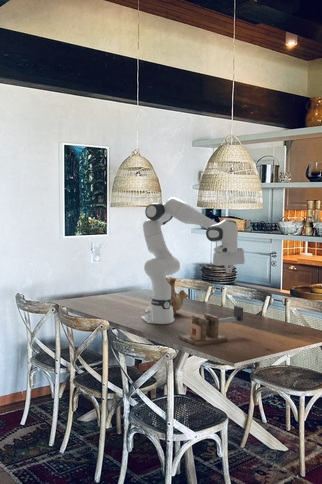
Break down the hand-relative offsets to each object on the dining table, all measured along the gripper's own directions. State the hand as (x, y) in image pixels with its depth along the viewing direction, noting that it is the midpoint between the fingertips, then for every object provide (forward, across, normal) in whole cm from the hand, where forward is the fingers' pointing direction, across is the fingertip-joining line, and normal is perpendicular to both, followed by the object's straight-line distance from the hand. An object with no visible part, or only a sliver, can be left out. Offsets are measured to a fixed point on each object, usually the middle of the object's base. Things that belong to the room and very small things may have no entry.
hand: (228, 272), depth 295 cm
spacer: (+28, +29, +10) cm, 42 cm away
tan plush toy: (+33, +5, -52) cm, 62 cm away
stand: (+33, +23, +10) cm, 42 cm away
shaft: (+25, +12, +10) cm, 30 cm away
